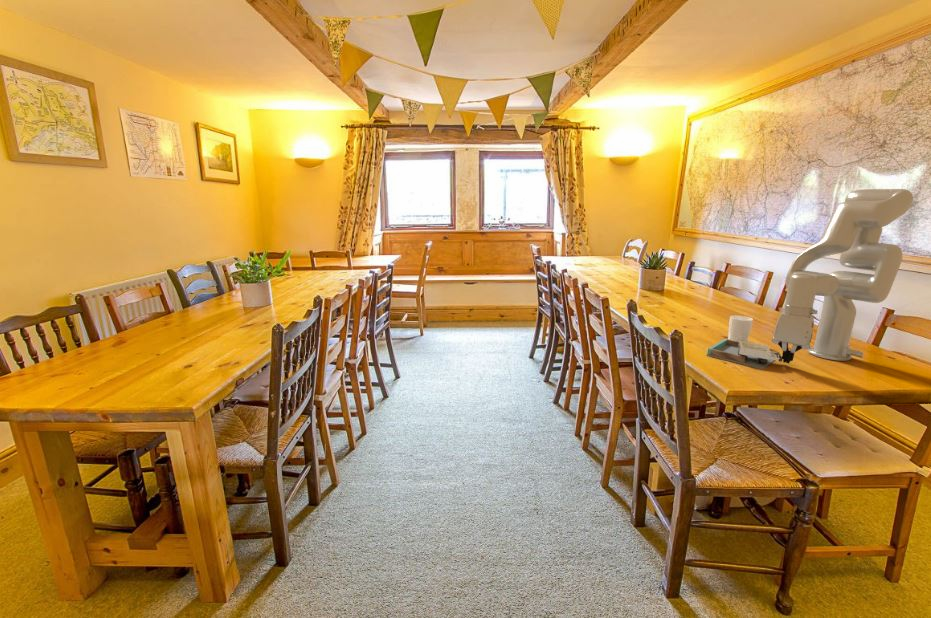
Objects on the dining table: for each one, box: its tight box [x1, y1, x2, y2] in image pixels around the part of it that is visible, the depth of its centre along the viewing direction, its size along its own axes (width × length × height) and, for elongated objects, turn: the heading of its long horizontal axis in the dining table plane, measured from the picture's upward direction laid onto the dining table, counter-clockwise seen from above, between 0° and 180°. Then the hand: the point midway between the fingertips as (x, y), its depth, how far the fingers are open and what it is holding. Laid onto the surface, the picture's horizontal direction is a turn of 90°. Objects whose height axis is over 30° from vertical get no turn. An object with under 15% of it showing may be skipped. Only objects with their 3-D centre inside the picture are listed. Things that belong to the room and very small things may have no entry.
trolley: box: [738, 341, 783, 364], centre depth 152 cm, size 13×8×5 cm, turn 62°
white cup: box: [727, 315, 754, 342], centre depth 174 cm, size 8×8×10 cm
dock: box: [706, 338, 777, 370], centre depth 158 cm, size 18×19×3 cm
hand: (786, 361), depth 148 cm, fingers closed
